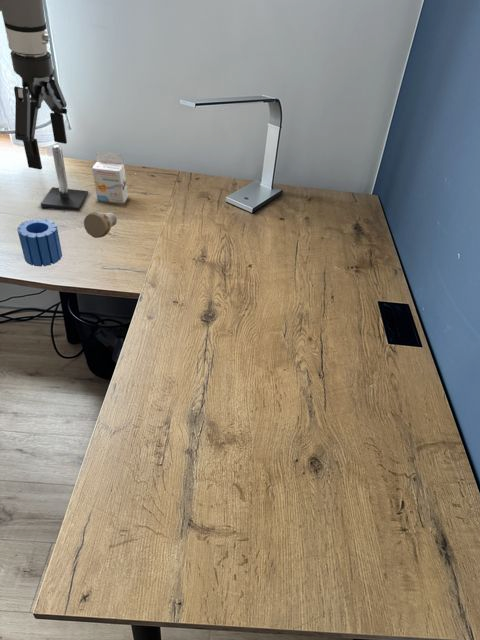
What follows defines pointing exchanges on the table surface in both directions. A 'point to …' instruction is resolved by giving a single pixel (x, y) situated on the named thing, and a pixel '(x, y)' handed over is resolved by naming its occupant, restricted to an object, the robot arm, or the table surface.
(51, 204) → the stand
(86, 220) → the mug
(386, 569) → the table surface
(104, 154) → the ink box
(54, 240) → the blue ribbed pencil cup
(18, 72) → the robot arm
